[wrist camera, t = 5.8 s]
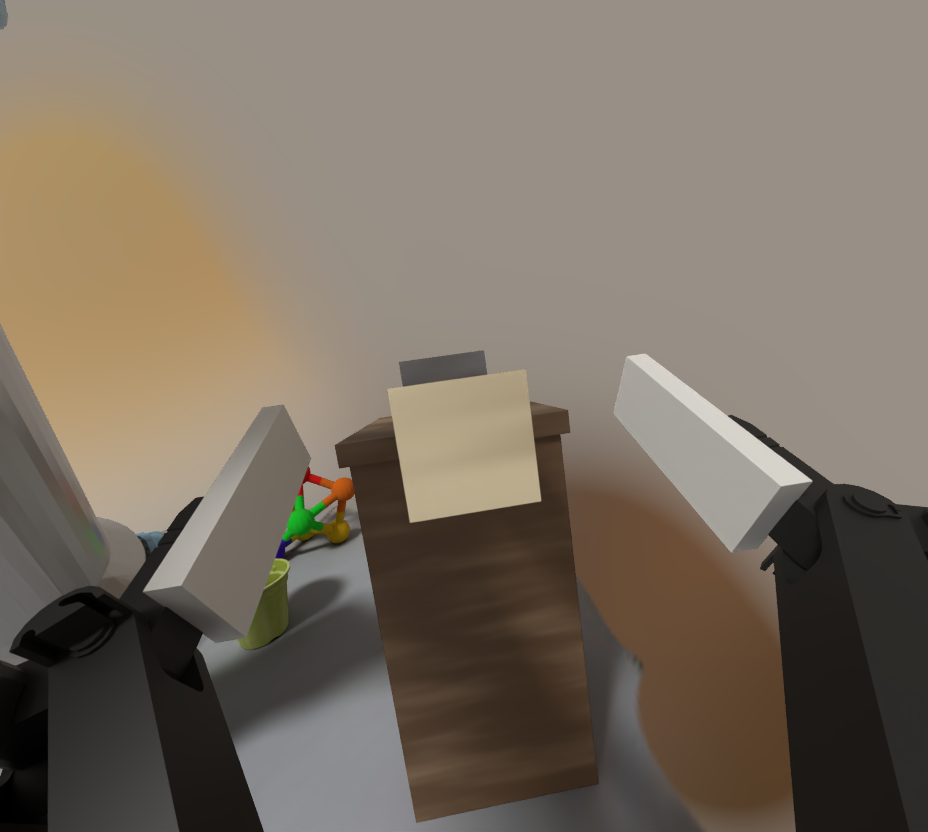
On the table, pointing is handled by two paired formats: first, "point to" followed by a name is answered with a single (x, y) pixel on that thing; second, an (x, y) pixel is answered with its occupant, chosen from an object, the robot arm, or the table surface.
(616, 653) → the table surface
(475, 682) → the stand
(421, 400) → the mallet
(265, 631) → the plant pot
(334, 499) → the molecular model
